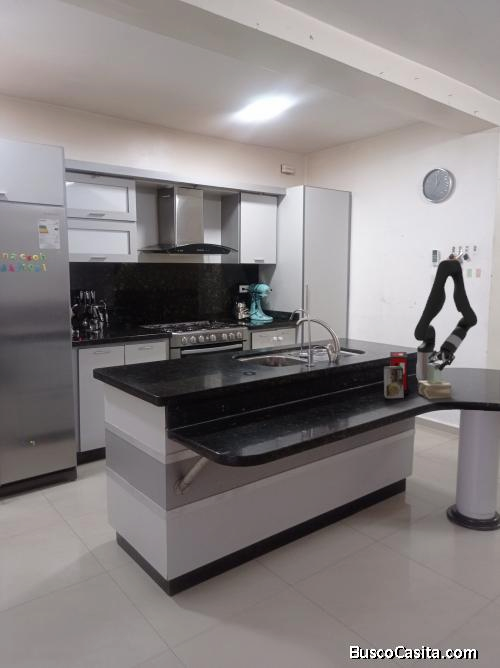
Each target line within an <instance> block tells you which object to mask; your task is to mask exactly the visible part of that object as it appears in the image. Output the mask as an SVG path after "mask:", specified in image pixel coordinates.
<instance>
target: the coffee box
mask: <svg viewBox="0 0 500 668" xmlns="http://www.w3.org/2000/svg"><path fill="white" fill-rule="evenodd" d="M383 385H384V386H383V387H384V388H383V389H384V390H383V392H384V394H383V395H384V398H385V399H404V398H405V397H404V396H405V395H404V394H405V393H404V391H403V368H402V367H401V366H390V365H387V366H386V365H385V366H383Z"/></svg>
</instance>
